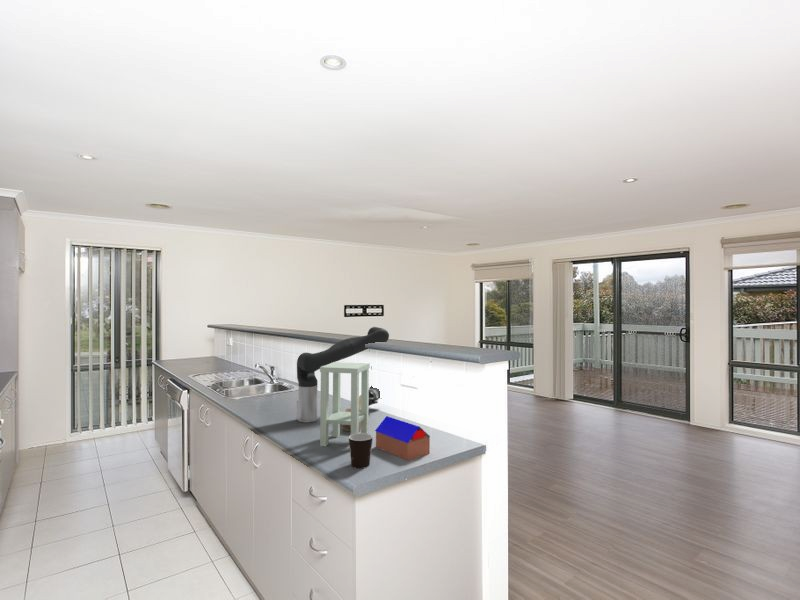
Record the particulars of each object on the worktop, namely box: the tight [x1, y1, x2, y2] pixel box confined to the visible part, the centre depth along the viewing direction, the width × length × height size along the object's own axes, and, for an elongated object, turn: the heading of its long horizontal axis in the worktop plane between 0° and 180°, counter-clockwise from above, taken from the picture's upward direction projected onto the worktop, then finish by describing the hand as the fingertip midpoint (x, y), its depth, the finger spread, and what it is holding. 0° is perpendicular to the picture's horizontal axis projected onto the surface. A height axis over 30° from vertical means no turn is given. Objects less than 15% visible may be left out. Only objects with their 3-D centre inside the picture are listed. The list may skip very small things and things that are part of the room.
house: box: [374, 416, 431, 461], centre depth 169 cm, size 12×20×12 cm, turn 40°
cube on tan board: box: [341, 395, 361, 432], centre depth 201 cm, size 8×20×6 cm, turn 167°
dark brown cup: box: [348, 432, 374, 469], centre depth 154 cm, size 12×9×10 cm
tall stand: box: [319, 361, 371, 448], centre depth 178 cm, size 16×16×32 cm
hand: (359, 403), depth 205 cm, fingers closed on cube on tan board, 3 cm apart
